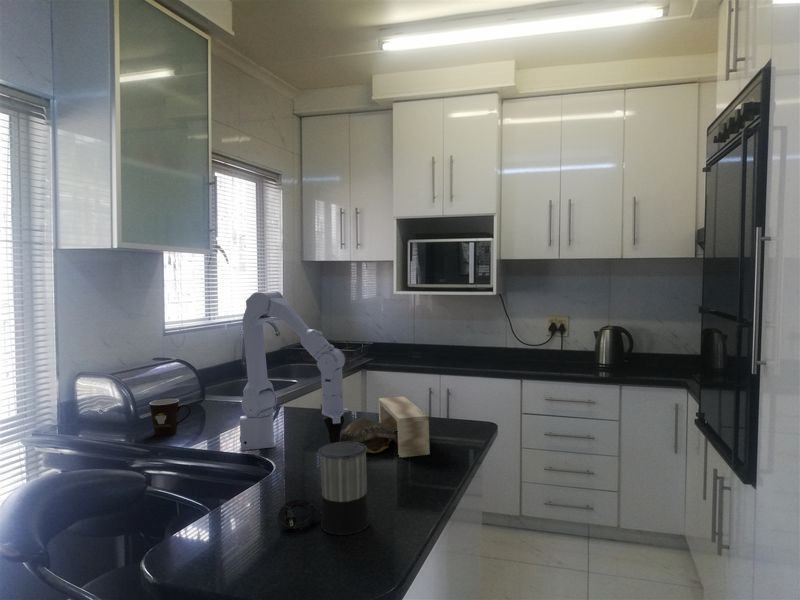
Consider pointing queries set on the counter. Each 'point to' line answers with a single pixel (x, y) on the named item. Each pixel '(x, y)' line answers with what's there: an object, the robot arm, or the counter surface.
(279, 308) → the robot arm
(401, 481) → the counter surface
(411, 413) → the birch shelf
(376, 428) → the turtle shell
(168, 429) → the coffee mug
